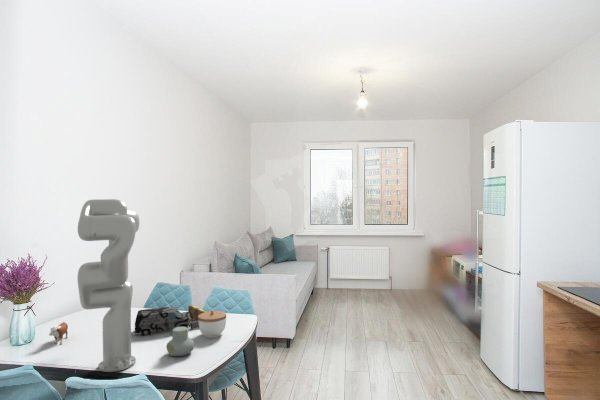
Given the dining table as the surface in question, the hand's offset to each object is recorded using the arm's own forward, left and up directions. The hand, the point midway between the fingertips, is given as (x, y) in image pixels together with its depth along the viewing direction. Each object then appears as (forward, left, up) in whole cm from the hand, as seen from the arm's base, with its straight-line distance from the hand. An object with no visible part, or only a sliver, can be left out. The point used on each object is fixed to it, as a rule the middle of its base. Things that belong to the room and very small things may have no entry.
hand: (118, 282), depth 170 cm
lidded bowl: (-24, -33, -26) cm, 48 cm away
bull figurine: (+14, +21, -26) cm, 36 cm away
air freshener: (-34, -13, -26) cm, 45 cm away
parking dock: (-1, -33, -25) cm, 42 cm away
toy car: (-2, -19, -26) cm, 32 cm away
